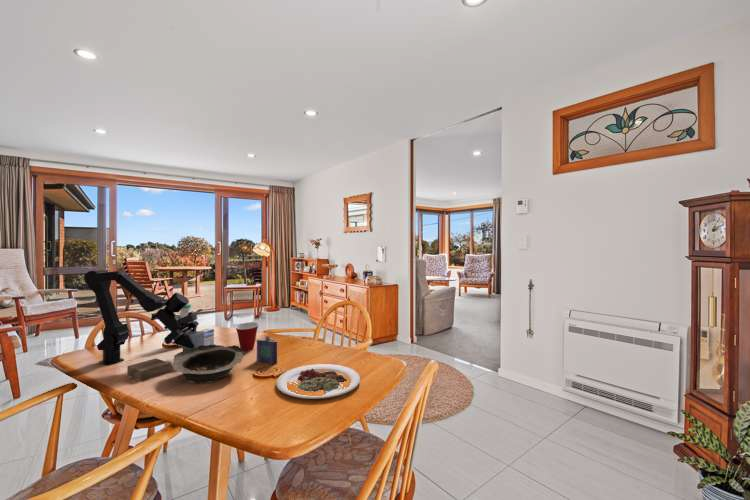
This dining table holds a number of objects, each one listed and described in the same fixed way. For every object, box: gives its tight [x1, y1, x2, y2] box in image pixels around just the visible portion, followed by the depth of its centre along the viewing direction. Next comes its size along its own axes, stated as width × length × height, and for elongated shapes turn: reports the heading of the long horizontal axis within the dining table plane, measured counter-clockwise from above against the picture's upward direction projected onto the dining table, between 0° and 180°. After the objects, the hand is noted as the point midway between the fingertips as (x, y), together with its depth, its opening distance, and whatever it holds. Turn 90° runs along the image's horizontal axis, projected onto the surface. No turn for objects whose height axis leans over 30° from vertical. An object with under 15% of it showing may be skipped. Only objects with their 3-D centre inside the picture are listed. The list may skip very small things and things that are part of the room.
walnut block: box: [126, 358, 171, 382], centre depth 125 cm, size 10×10×4 cm
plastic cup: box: [234, 321, 260, 352], centre depth 156 cm, size 11×11×12 cm
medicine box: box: [201, 328, 215, 346], centre depth 157 cm, size 8×4×9 cm, turn 168°
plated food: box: [276, 363, 361, 400], centre depth 119 cm, size 30×30×3 cm
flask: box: [256, 334, 278, 365], centre depth 139 cm, size 10×3×12 cm, turn 71°
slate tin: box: [182, 330, 204, 352], centre depth 139 cm, size 6×6×12 cm
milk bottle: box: [175, 303, 192, 347], centre depth 163 cm, size 8×8×20 cm
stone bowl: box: [170, 344, 244, 385], centre depth 124 cm, size 25×25×9 cm
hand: (196, 345), depth 140 cm, fingers closed on slate tin, 6 cm apart
